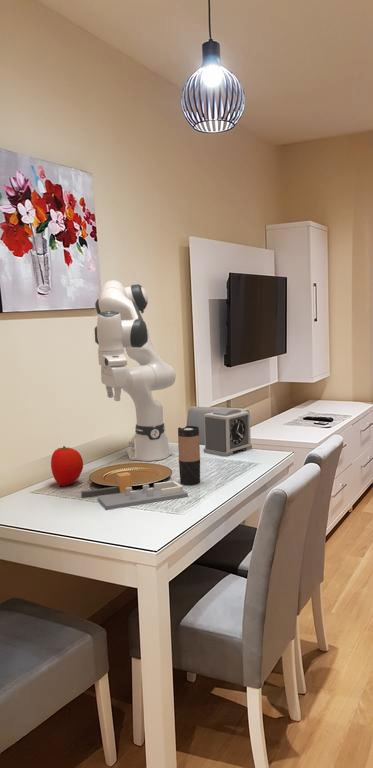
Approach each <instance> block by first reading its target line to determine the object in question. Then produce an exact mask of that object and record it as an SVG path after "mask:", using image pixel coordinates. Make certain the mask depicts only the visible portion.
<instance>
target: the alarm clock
mask: <svg viewBox="0 0 373 768" xmlns="http://www.w3.org/2000/svg"><path fill="white" fill-rule="evenodd" d="M203 417H204V418H203V421H204V422H203V423H204V425H203V427H204V448H203V453H204V454H208V455H213V456H218V457H223V458H224V457H225V458H227V457H228V458H229V457H232V456H233V455H234V452H236V451H238V450H241V451H246V452H247V451H251V450H252V449H253V446H252V441H251V411H245V410H241V409H235V408H229V407H221V408H218V409H216V410H214V411H213V412H209V413H204V415H203Z"/></svg>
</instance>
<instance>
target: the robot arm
mask: <svg viewBox="0 0 373 768" xmlns="http://www.w3.org/2000/svg"><path fill="white" fill-rule="evenodd" d="M148 298H149V297H148V293H147V291H146V289H145V288H144V287H143V286H142V285H140V284H139V283H138V284H131V285H130V286H126V287H125V286H124V284H122V283H121V281H119V280H117V279H116V280H115V279H114V280H113V279H112V280H108V281H105V283H104V284H103V285H102V287H101V288H100V291H99V295H98V298H97V299H96V301H95V304H94V306H95V312H96V313H95V314H96V315H97V321H96V322H97V324H96V326H95V327H94V329H93V330H94V343H96V344H97V345H98V348H97V355H98V357H97V358H98V365H99V366H100V380H101V384H103V385H105V389H106V394H107V398H109V399H110V398H111V399H112V398H113V400H114V401H115V402H120V401H121V396H122V395H121V393H122V391H124V392H125V393H127V394H128V395H129V396H130V398H131V399H132V402H133V403H134V408H135V416H136V424H135V429H134V430H135V433H134V435H133V437H132V438H131V441H128V447H129V448H128V449H126V455H127V456H128V459H129V460H130V461H141V462H142V461H144V462H146V461H149V462H150V461H151V462H152V461H159V460H163V459H168V457H169V456H171V455H173V451H171V450H170V443H169V437H168V435H167V433H165V429H166V428H165V423H164V412H163V405H162V404H161V402H159V401H158V400H156V399H154V397H153V395H152V392H153V391H160V390H161V391H162V390H164V389H168V388H170V387H172V386H173V385H174V383H176V382H175V381H176V379H177V378H176V377H177V376H176V375H177V374H176V371H175V369H174V367H173V366H172V365H171V364H169V363H167V362H166V361H164V360H163V359H162V358H161V357H160V356H159V354H158V353H157V352H156V350H155V348H154V345H153V343H152V341H151V338H150V335H149V328H148V326H147V324H146V322H145V321H144V319H143V317H142V314H144V312H145V310H146V308H147V305H148V304H149V303H148V300H149V299H148ZM125 352H126V355H127V356H128V357H129V358H130V359H132V360H134V361H136V363H138V365H134V366H131V367H127V368H126V366H127V365H128V359H127V358H126V355H125ZM113 391H114V392H113Z"/></svg>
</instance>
